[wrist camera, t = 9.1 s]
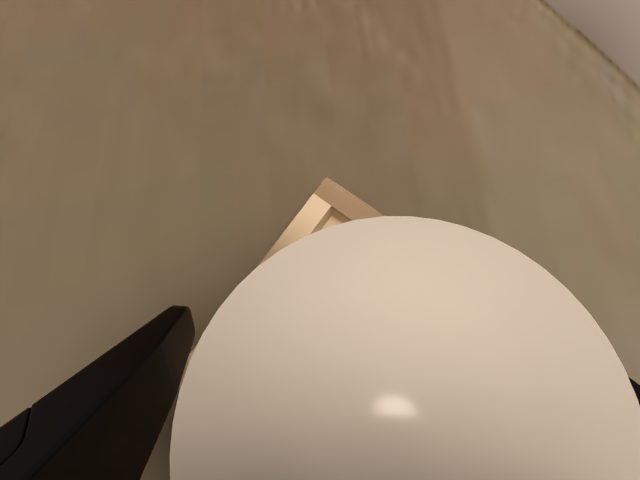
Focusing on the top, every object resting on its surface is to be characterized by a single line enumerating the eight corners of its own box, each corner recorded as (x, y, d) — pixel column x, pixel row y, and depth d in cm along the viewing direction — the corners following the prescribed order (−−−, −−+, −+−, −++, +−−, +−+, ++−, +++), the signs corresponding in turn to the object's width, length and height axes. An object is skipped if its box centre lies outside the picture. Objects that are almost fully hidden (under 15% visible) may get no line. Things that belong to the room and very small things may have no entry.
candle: (324, 420, 16) (288, 870, 3) (279, 320, 17) (107, 329, 4) (420, 371, 16) (767, 586, 3) (370, 275, 17) (486, 149, 4)
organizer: (569, 684, 14) (744, 957, 8) (193, 370, 17) (118, 400, 11) (688, 443, 16) (909, 522, 10) (327, 195, 19) (324, 138, 13)
